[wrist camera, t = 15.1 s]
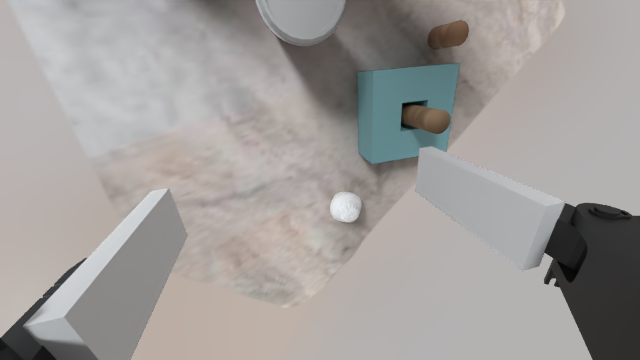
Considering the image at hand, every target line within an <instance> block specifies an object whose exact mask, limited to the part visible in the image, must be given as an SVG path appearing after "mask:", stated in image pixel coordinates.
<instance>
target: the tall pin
mask: <svg viewBox="0 0 640 360" xmlns="http://www.w3.org/2000/svg"><path fill="white" fill-rule="evenodd" d="M450 120H451V118H450V114H449V113H448V112H447V111H445V110H440V109H434V108H429V107H423V106H418V105H412V104H407V103H402V113H401V123H403V124H406V125H409V126H412V127H415V128H419V129H422V130H425V131H428V132H431V133H434V134H441V133H443V132H444V131H445V130H446V129H447V128H448V126H449V124H450Z"/></svg>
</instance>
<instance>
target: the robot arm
mask: <svg viewBox="0 0 640 360" xmlns="http://www.w3.org/2000/svg"><path fill="white" fill-rule="evenodd" d="M415 192H417V193H418V194H420V195H421V196H422V197H423V198H425V199H426V200H428V201H429V202H430V203H432V204H433V205H434V206H435V207H437V208H438V209H440V210H441V211H442V212H444V213H445V214H446V215H448V216H449V217H450V218H452V219H453V220H454V221H456V222H457V223H458V224H460V225H461V226H462V227H464V228H465V229H466V230H468V231H469V232H470V233H472V234H473V235H474V236H476V237H477V238H478V239H480V240H481V241H482V242H484V243H485V244H486V245H488V246H489V247H490V248H492V249H493V250H494V251H496V252H497V253H498V254H500V255H501V256H502V257H504V258H505V259H506V260H508V261H509V262H510V263H512V264H513V265H515V266H516V267H517V268H518V269H520V270H521V271H523V270H527V269H531V268H534V267H538V266H539V265H540V262H541V260H542V257H543V255H544V253H546V254H548V255H549V256H551V257H552V258H553V260H552V263H551V265H550V267H549V269H548V272H547V274H546V276H545V279H544V284H549V282H550V280H551V279H552V278H556V282H555V284H554V286H556V287H560V289H561V291H562V293H563V295H564V297H565V300H566V302H567V304H568V306H569V308H570V311H571V313H572V315H573V317H574V319H575V322H576V324H577V326H578V328H579V330H580V332H581V335H582V337H583V339H584V341H585V344H586V346H587V348H588V350H589V353H590V355H591V357H592V359H593V360H640V216H632V215H631V214H629V213H628V212H626V211H623V210H620V209H617V208H614V207H611V206H607V205H601V204H595V203H582V204H579V205H577V206H576V207H574V206H571V205H569V204H566V203H565V201H563V200H560V199H557V198H555V197H553V196H550V195H548V194H546V193H543V192H541V191H538V190H536V189H534V188H531V187H529V186H526V185H524V184H521V183H519V182H517V181H514V180H512V179H509V178H507V177H505V176H502V175H500V174H497V173H495V172H492V171H490V170H488V169H485V168H483V167H480V166H478V165H475V164H473V163H471V162H468V161H466V160H463V159H461V158H459V157H456V156H454V155H451V154H449V153H446V152H444V151H442V150H439V149H437V148H434V147H432V146H431V147H424V148H419V158H418V168H417V178H416V188H415ZM187 236H188V235H187V232H186V230H185V227H184V225H183V222H182V220H181V217H180V215H179V212H178V210H177V207H176V205H175V202H174V200H173V197H172V195H171V192H170V189H169V188H168V189H161V190H155V191H151V192H150V193H149V194H148V195H147V196H146V197H145V198H144V199H143V200H142V201H141V202H140V203H139V205H138V206H137V207H136V208H135V209H134V210H133V211H132V212H131V213H130V214H129V215H128V216H127V217H126V218H125V219H124V220H123V221H122V222H121V223H120V224H119V226H118V227H117V228H116V229H115V230H114V231H113V232H112V233H111V234H110V235H109V236H108V237H107V238H106V239H105V240H104V241H103V242H102V243H101V244H100V246H99V247H98V248H97V249H96V250H95V251H94V252H93V253H92V254H91V255H90V256H89V257H88V258H85V259H83V260H82V261H81V262H79V263H78V264H76V265H75V266H74V267H72V268H71V269H69V270H68V271H67V272H66V273H65V274H64V275H63V276H62V277H61V278H60V279H59V280H58V281H57V282H56V283H55V284H54V286H53V287H51V288H50V289H49V290H48V291H47V292H46V293H45V294H44V295H43V298H40V299H39V300H38V301H37V302H36V303H35V304H34V305H33V306H32V307H31V308H30V309H29V310H28V311H27V312H26V313H25V314H24V315H23V316H22V317H21V318H20V319H19V320H18V321H17V322H16V323H15V324H14V325H13V326H12V327H11V328H10V329H9V330H8V331H7V332H6V333H5V334H4V335H3V336H2V337H1V338H0V360H131V357H132V355H133V353H134V351H135V349H136V347H137V344H138V342H139V340H140V338H141V336H142V333H143V331H144V329H145V327H146V325H147V323H148V320H149V318H150V316H151V314H152V312H153V310H154V307H155V305H156V303H157V301H158V299H159V297H160V294H161V292H162V290H163V288H164V286H165V283H166V281H167V279H168V277H169V275H170V273H171V270H172V268H173V266H174V264H175V262H176V260H177V257H178V255H179V253H180V251H181V249H182V247H183V244H184V242H185V240H186V238H187Z"/></svg>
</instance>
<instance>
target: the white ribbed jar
mask: <svg viewBox="0 0 640 360" xmlns="http://www.w3.org/2000/svg"><path fill="white" fill-rule="evenodd" d="M361 207H362V203H361V200H360V198H359V197H358V196H357V195H356V194H354V193H350V192H339V193H337V194H336V195H334V197H333V199H332V201H331V206H330V212H331V215H332V216H333V218H334V219H336V220H338V221H340V222H348V223H350V222H353V221H355V220H356V219H358V216H359V213H360V211H361Z"/></svg>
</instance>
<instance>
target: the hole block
mask: <svg viewBox="0 0 640 360" xmlns="http://www.w3.org/2000/svg"><path fill="white" fill-rule="evenodd" d="M459 65H460V63H453V64H438V65H426V66H415V67H405V68H394V69H383V70H373V71H362V72H358V142H359V154H360V155H361V156H363V157H364V158H365V159H366V160H368V161H369V162H370V163H371V164H375V163H381V162H387V161H393V160H399V159H405V158H411V157H417V156H419V148H424V147H431V146H432V147H434V148H437V149H439V150H442V151H444V152H446V151H447V144H448V138H449V131H450V125H451V120H450V124H449V126H448V128H447V129H446V130H445V131H444V132H443V133H441V134H434V133H431V132H428V131H425V130H422V129H419V128H415V127H412V126H409V125H406V124H403V123H401V113H402V103H407V104H412V105H418V106H423V107H429V108H434V109H440V110H445V111H447V112H448V113H449V114H450V118H452V111H453V105H454V98H455V92H456V85H457V78H458V72H459Z"/></svg>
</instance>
